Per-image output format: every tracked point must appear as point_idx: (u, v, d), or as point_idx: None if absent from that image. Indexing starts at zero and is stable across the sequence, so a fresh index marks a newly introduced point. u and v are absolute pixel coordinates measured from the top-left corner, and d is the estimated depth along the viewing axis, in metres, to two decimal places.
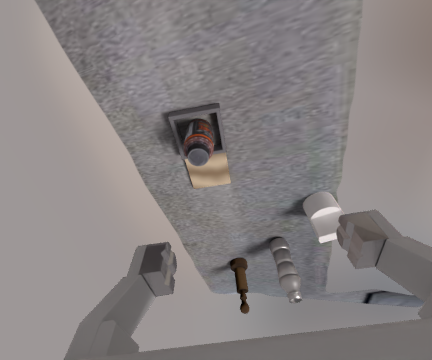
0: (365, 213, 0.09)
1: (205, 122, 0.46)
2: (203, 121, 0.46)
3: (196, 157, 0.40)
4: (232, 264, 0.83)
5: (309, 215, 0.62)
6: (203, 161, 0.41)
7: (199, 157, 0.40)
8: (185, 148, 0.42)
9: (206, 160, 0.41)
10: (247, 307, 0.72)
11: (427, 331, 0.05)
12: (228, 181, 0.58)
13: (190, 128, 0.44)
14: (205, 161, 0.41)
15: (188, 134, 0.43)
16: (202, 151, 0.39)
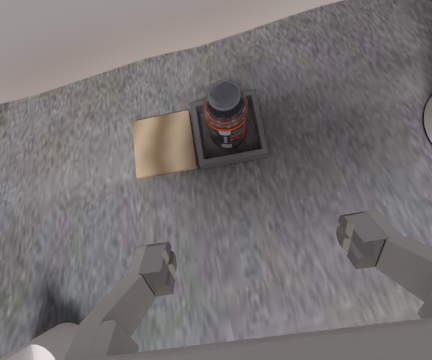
0: (365, 213, 0.09)
1: (244, 137, 0.34)
2: (245, 135, 0.34)
3: (224, 92, 0.25)
4: None
5: (41, 340, 0.29)
6: (217, 102, 0.25)
7: (225, 95, 0.25)
8: None
9: (218, 106, 0.25)
10: None
11: (427, 331, 0.05)
12: (140, 174, 0.36)
13: None
14: (216, 105, 0.25)
15: None
16: (236, 100, 0.25)
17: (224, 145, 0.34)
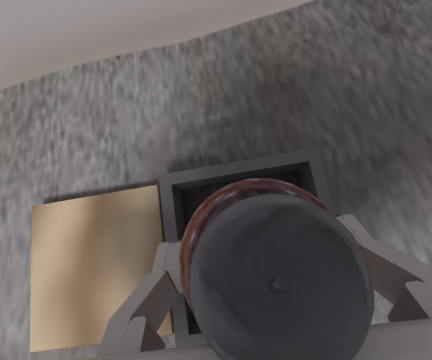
0: (340, 217, 0.09)
1: None
2: None
3: (278, 269, 0.05)
4: None
5: None
6: (240, 331, 0.05)
7: (288, 293, 0.05)
8: (284, 187, 0.07)
9: None
10: None
11: (427, 331, 0.05)
12: (39, 342, 0.15)
13: None
14: (240, 351, 0.04)
15: None
16: (354, 329, 0.04)
17: None
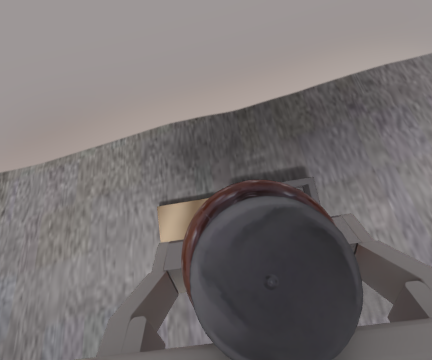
0: (340, 217, 0.09)
1: None
2: None
3: (273, 267, 0.05)
4: None
5: None
6: (237, 324, 0.05)
7: (282, 289, 0.05)
8: (281, 189, 0.08)
9: (246, 353, 0.05)
10: None
11: (427, 331, 0.05)
12: None
13: None
14: (236, 342, 0.05)
15: None
16: (344, 323, 0.05)
17: None
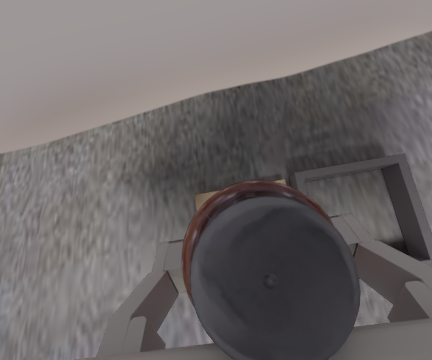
0: (340, 217, 0.09)
1: None
2: None
3: (272, 267, 0.05)
4: None
5: None
6: (237, 322, 0.05)
7: (281, 288, 0.05)
8: (280, 189, 0.08)
9: (246, 351, 0.05)
10: None
11: (427, 331, 0.05)
12: None
13: None
14: (236, 341, 0.05)
15: None
16: (341, 321, 0.05)
17: None
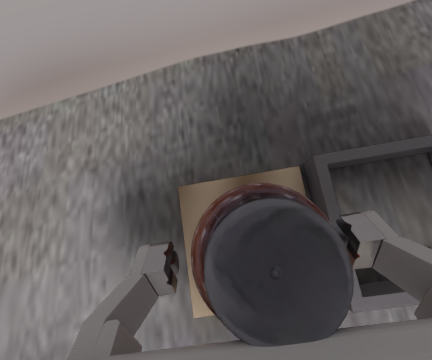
0: (362, 214, 0.09)
1: None
2: None
3: (277, 260, 0.06)
4: None
5: None
6: (246, 309, 0.06)
7: (285, 279, 0.06)
8: (282, 191, 0.08)
9: (254, 334, 0.06)
10: None
11: (427, 331, 0.05)
12: (201, 309, 0.16)
13: None
14: (245, 325, 0.06)
15: None
16: (337, 307, 0.05)
17: None
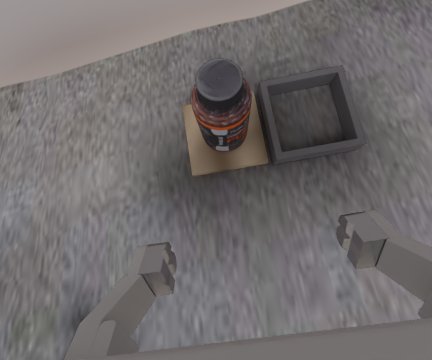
0: (365, 213, 0.09)
1: (244, 137, 0.27)
2: (246, 134, 0.27)
3: (219, 75, 0.18)
4: None
5: None
6: (209, 88, 0.18)
7: (221, 80, 0.18)
8: None
9: (211, 95, 0.18)
10: None
11: (427, 331, 0.05)
12: (196, 170, 0.28)
13: None
14: (208, 93, 0.18)
15: None
16: (236, 86, 0.18)
17: (219, 148, 0.27)
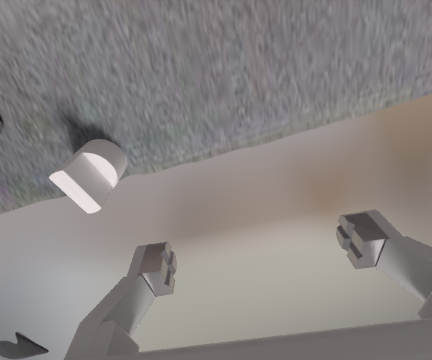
0: (365, 213, 0.09)
1: None
2: None
3: None
4: None
5: (87, 150, 0.39)
6: None
7: None
8: None
9: None
10: None
11: (427, 331, 0.05)
12: None
13: None
14: None
15: None
16: None
17: None
